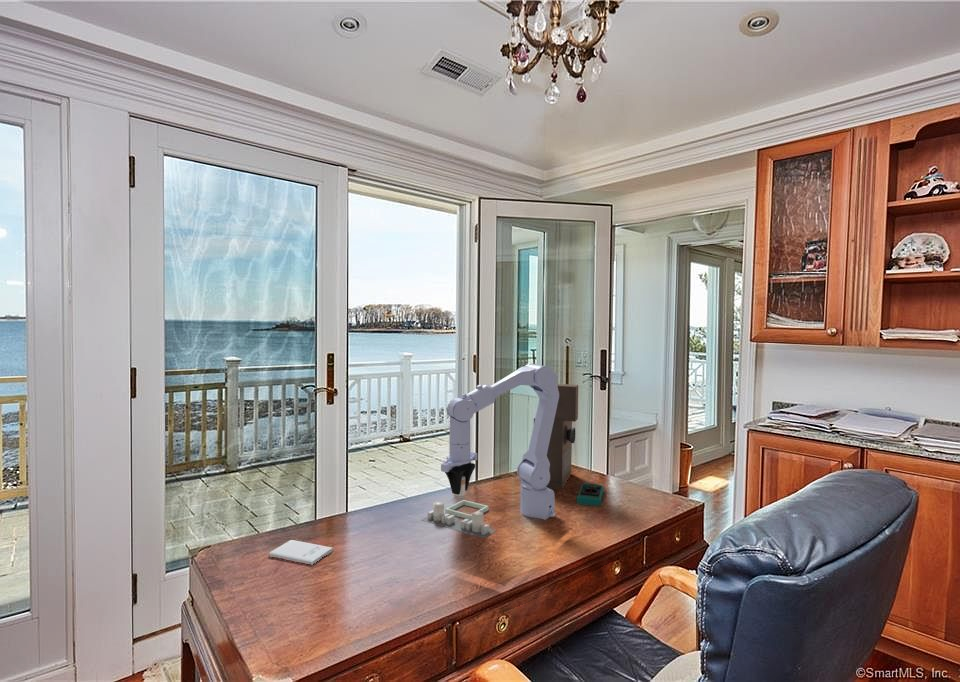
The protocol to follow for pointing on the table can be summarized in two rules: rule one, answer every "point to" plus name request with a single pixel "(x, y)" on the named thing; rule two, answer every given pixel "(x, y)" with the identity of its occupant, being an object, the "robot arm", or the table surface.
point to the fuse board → (459, 525)
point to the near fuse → (477, 522)
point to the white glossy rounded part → (438, 511)
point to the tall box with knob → (562, 436)
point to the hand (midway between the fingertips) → (459, 491)
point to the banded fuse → (462, 492)
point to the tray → (463, 515)
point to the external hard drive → (301, 551)
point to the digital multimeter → (590, 494)
